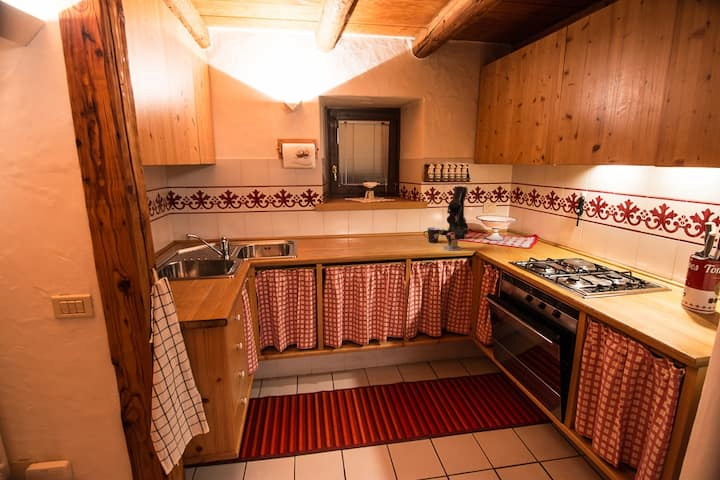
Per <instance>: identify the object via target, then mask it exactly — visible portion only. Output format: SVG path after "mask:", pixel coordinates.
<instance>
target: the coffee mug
mask: <svg viewBox="0 0 720 480" xmlns="http://www.w3.org/2000/svg"><path fill="white" fill-rule="evenodd" d="M439 230H441V229H440V228H439V227H435V226H433V227H427V230H425V231H423V236H424V238H426V239H428V243H429V244H437V243H439V236H440V234H439ZM426 232H427V236H426V235H425V233H426Z"/></svg>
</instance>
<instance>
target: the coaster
mask: <svg viewBox="0 0 720 480" xmlns="http://www.w3.org/2000/svg"><path fill="white" fill-rule="evenodd" d="M443 250H445V251H451V252H458V251H461V250H463V248H462V246H459V245H458V247H450V246H448V245H443Z"/></svg>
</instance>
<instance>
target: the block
mask: <svg viewBox="0 0 720 480" xmlns="http://www.w3.org/2000/svg"><path fill="white" fill-rule="evenodd" d="M447 246H450V247H458V246H459V239H458V240H457V239H455V237H451V244H450V245H449V243H448V242H447Z"/></svg>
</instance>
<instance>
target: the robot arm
mask: <svg viewBox="0 0 720 480" xmlns="http://www.w3.org/2000/svg"><path fill="white" fill-rule="evenodd" d="M468 189H469V188H468V187H467V186H461V185H458V186H457V185H456V186H455V187H454V195H453V198H452V199H451V200H450V201H449V204H448V207H447V210H446V211H447V213H446V214H448V216H447V217H446V222H447V224H448V226H449V227H448V229H447V230H446V229H443V228H442V229H440V230H439V236H445V238H446V241H447V244H448V243H449V245H450V244H451V238H452V235H451V234H454V238H455V239H457V240H458V241H459V240H462V239H464V240H465V238H466V236H465V235H468V234H469V228H468V223H467V219H466V217H465V198H466V197H467V194H468V192H469V191H468Z"/></svg>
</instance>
